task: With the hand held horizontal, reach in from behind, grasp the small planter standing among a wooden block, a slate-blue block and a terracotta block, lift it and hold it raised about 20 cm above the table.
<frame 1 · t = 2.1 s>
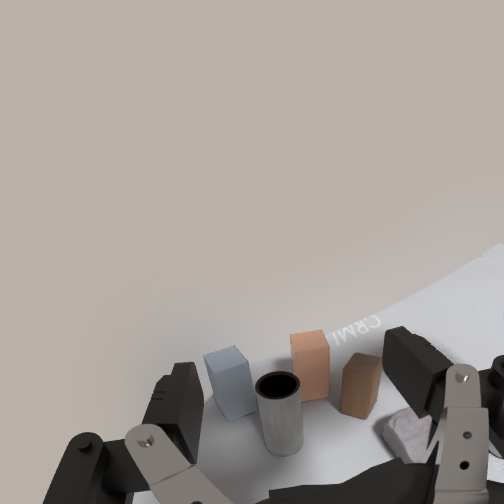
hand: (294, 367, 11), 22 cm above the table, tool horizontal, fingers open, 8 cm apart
stone block: (432, 448, 21), on the table
wooden block: (358, 408, 32), on the table
terracotta block: (310, 389, 37), on the table
slate-blue block: (236, 407, 36), on the table
planter: (284, 443, 28), on the table
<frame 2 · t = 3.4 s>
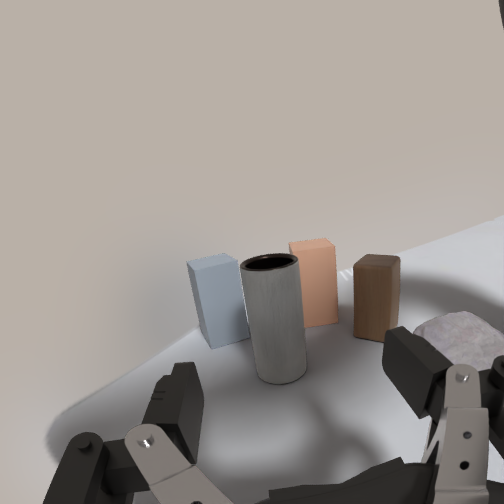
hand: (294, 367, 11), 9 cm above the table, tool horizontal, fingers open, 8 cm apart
stone block: (473, 375, 17), on the table
wooden block: (375, 333, 27), on the table
terracotta block: (315, 317, 33), on the table
slate-blue block: (224, 335, 32), on the table
planter: (282, 370, 24), on the table
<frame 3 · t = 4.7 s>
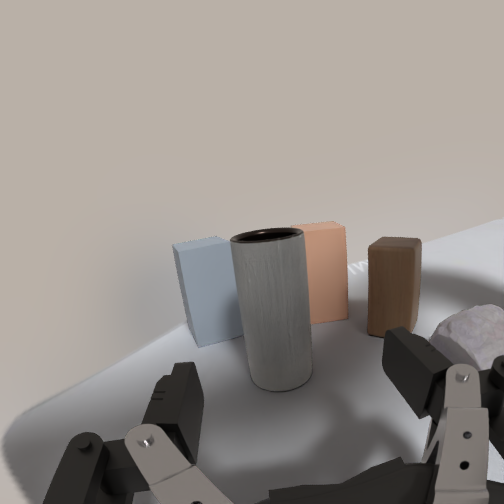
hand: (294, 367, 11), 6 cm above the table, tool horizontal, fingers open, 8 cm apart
wooden block: (392, 330, 22), on the table
terracotta block: (321, 312, 28), on the table
slate-blue block: (215, 331, 27), on the table
planter: (281, 375, 19), on the table
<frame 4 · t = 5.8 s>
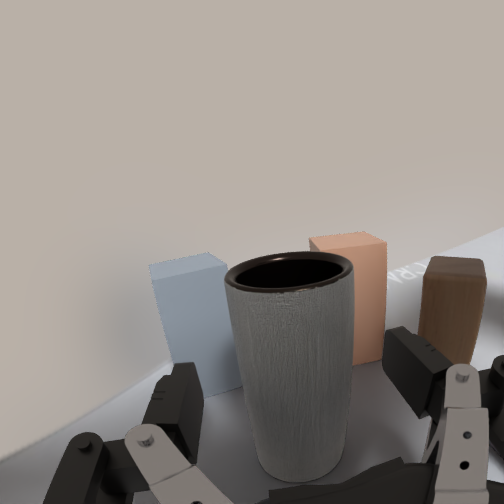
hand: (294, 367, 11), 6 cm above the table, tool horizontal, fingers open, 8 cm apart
wooden block: (438, 376, 15), on the table
terracotta block: (346, 349, 21), on the table
slate-blue block: (208, 377, 20), on the table
planter: (300, 452, 12), on the table
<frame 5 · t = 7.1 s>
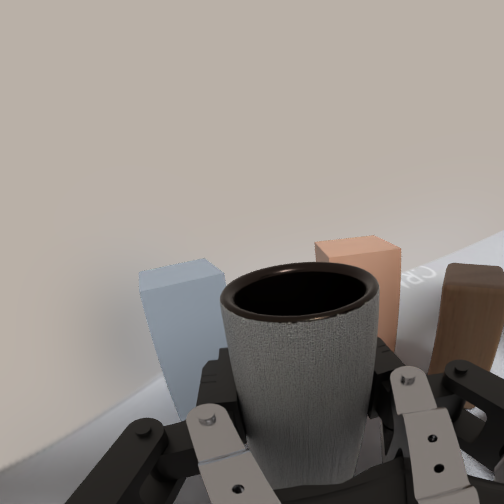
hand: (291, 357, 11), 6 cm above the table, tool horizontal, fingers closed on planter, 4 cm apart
wooden block: (451, 390, 13), on the table
terracotta block: (353, 362, 19), on the table
slate-blue block: (205, 393, 18), on the table
planter: (305, 479, 10), on the table, touching gripper
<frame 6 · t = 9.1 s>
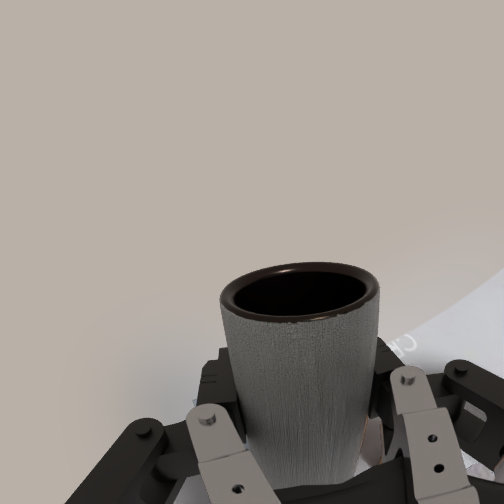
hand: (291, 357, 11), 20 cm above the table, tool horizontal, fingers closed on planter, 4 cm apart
slate-blue block: (238, 461, 24), on the table
planter: (305, 479, 10), point 13 cm above the table, touching gripper
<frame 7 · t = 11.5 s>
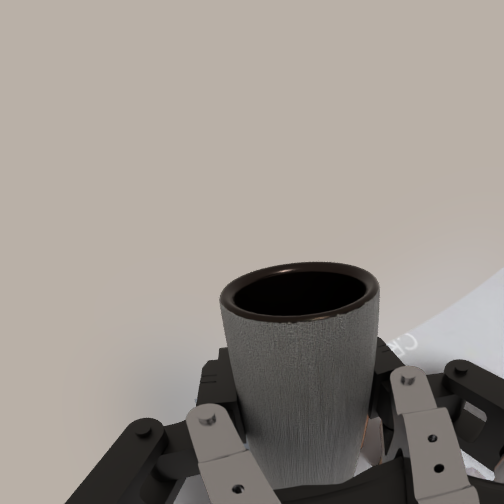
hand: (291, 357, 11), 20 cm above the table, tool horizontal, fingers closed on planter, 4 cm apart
terracotta block: (338, 437, 25), on the table
planter: (305, 479, 10), point 13 cm above the table, touching gripper
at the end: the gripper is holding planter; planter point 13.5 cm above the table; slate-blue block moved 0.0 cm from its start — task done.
